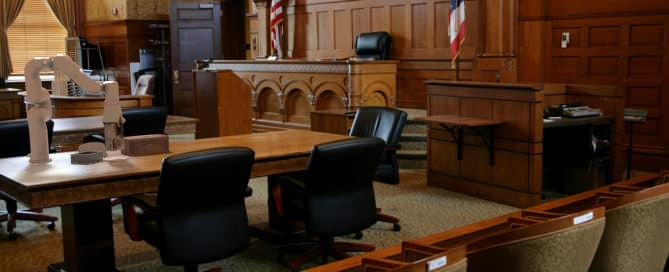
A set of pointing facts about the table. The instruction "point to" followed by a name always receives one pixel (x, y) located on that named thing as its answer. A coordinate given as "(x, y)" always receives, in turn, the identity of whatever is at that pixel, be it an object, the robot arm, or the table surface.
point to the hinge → (93, 147)
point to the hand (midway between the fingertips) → (114, 133)
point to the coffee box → (113, 137)
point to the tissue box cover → (145, 144)
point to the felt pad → (115, 159)
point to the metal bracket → (86, 157)
